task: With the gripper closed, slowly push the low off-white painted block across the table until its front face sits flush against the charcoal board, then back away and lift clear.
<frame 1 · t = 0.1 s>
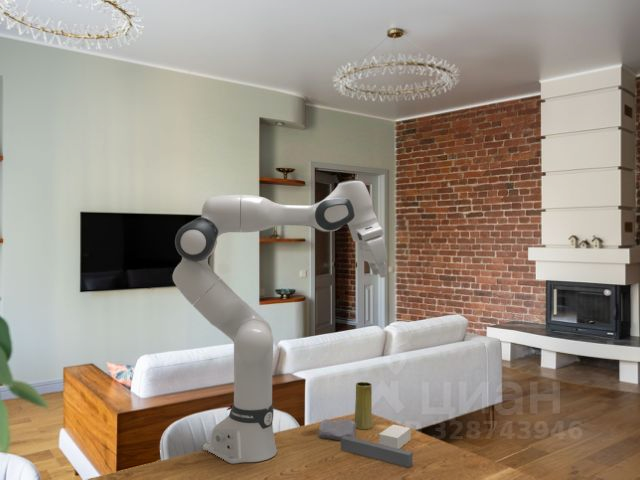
hand: (379, 275, 164), 52 cm above the table, tool tilted 20°, fingers open, 8 cm apart
vase: (363, 427, 183), on the table
offwhite block: (394, 443, 169), on the table
charcoal board: (375, 456, 158), on the table
stone block: (336, 436, 175), on the table
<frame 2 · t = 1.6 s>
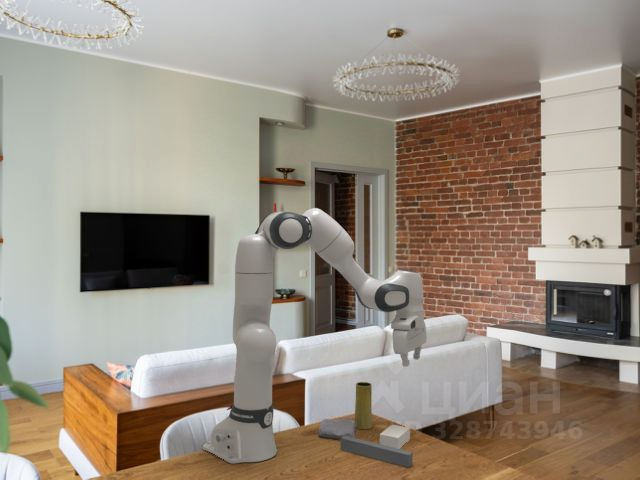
hand: (411, 362, 176), 23 cm above the table, tool pointing down, fingers open, 8 cm apart
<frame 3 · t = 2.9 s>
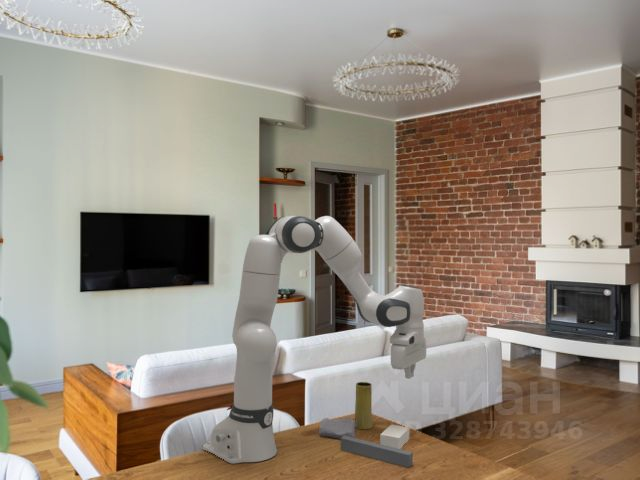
hand: (409, 377, 178), 18 cm above the table, tool pointing down, fingers closed
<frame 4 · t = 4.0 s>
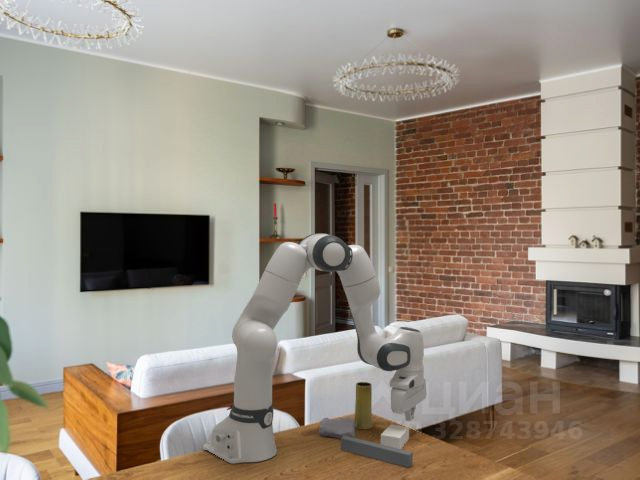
hand: (409, 419, 178), 4 cm above the table, tool pointing down, fingers closed
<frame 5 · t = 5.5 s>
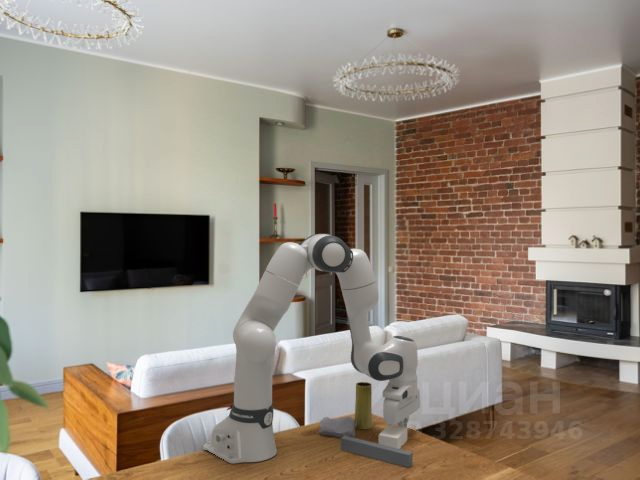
hand: (402, 430, 174), 2 cm above the table, tool pointing down, fingers closed
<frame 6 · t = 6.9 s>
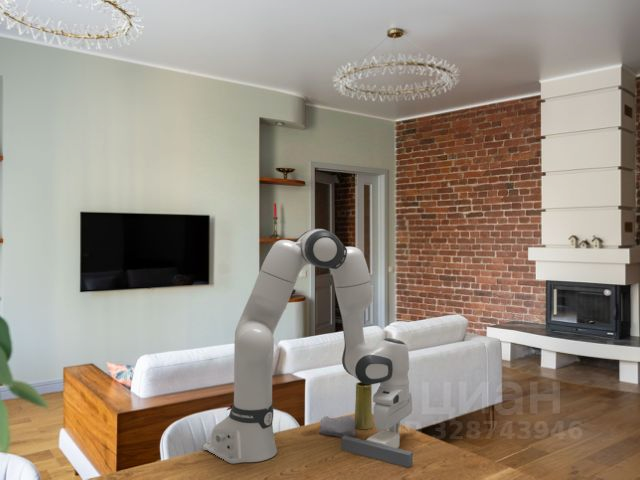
hand: (394, 436, 169), 2 cm above the table, tool pointing down, fingers closed
offwhite block: (383, 449, 164), on the table, touching charcoal board, gripper
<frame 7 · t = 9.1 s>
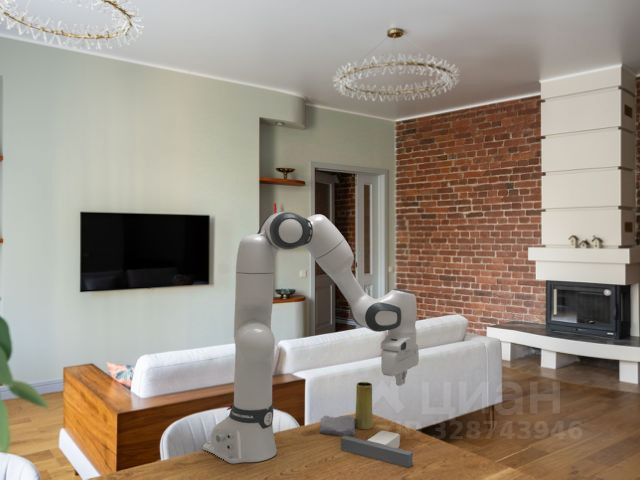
hand: (400, 384, 172), 17 cm above the table, tool pointing down, fingers closed
offwhite block: (383, 450, 164), on the table
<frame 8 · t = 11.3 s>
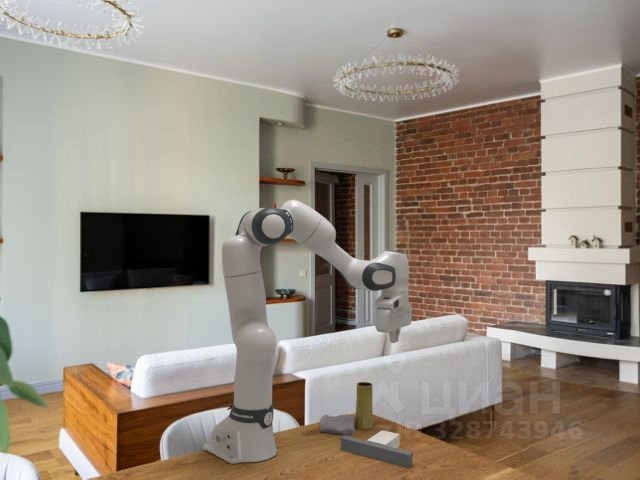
hand: (394, 342, 179), 29 cm above the table, tool pointing down, fingers closed
at the end: offwhite block 0.6 cm from the target spot on the table beside the charcoal board, on the table; offwhite block tilted 0° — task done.
